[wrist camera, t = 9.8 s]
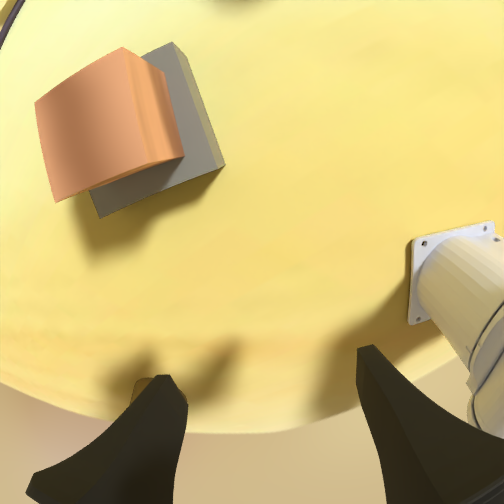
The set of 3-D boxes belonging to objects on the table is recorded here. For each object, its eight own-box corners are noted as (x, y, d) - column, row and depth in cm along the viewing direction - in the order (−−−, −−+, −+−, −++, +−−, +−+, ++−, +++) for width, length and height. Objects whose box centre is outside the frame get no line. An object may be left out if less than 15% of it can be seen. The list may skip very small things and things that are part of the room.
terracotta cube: (164, 72, 12) (122, 46, 7) (185, 156, 14) (147, 163, 9) (90, 107, 12) (34, 102, 8) (108, 183, 14) (55, 202, 9)
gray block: (188, 58, 14) (172, 41, 11) (226, 164, 17) (217, 168, 14) (91, 109, 15) (63, 107, 12) (124, 205, 18) (100, 218, 15)
